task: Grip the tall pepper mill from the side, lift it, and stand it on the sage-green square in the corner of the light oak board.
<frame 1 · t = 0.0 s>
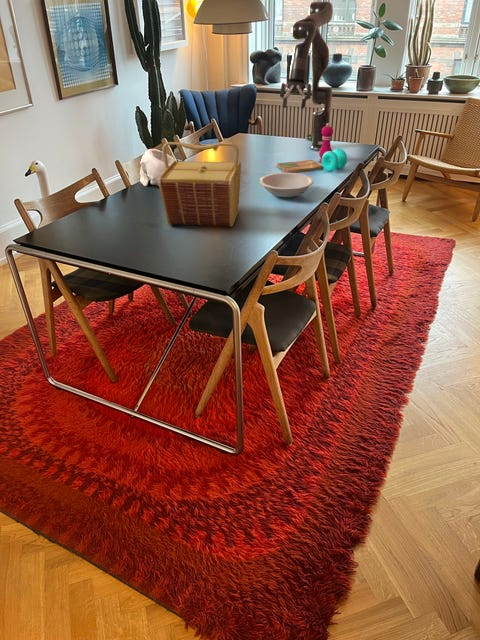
hand: (293, 108, 224), 31 cm above the table, tool tilted 20°, fingers open, 8 cm apart
pepper mill: (325, 162, 260), on the table
skull planter: (159, 185, 233), on the table
oak board: (299, 168, 252), on the table
soup bowl: (286, 195, 217), on the table
picnic basket: (204, 219, 194), on the table
turquoise spool: (333, 170, 247), on the table
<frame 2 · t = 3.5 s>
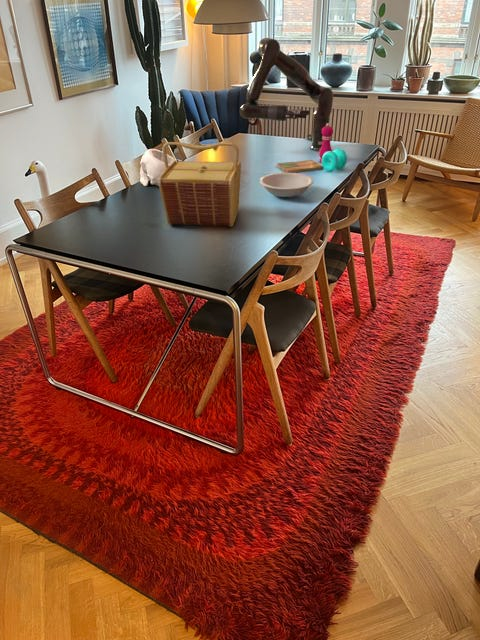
hand: (307, 114, 250), 24 cm above the table, tool horizontal, fingers open, 8 cm apart
nothing on the table moved.
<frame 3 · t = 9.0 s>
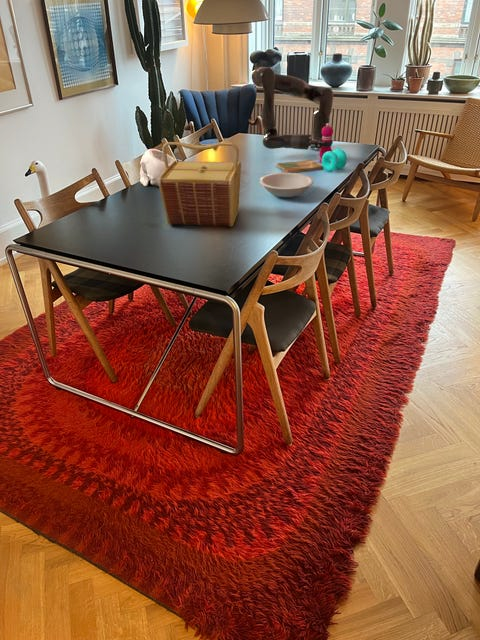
hand: (331, 143, 254), 10 cm above the table, tool horizontal, fingers closed on pepper mill, 4 cm apart
pepper mill: (325, 162, 260), on the table, touching gripper
everything else where it was.
when the fingers open (12 cm above the table, at t = 15.4 s): pepper mill stays where it is, resting on oak board.
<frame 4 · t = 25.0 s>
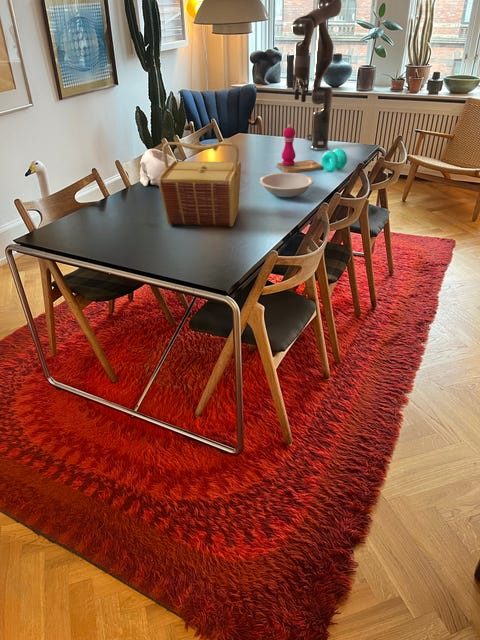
hand: (299, 100, 248), 30 cm above the table, tool pointing down, fingers open, 8 cm apart
pepper mill: (288, 164, 251), point 2 cm above the table, touching oak board
everything else where it was.
at the end: pepper mill 0.2 cm from the target spot, point 1.5 cm above the table; pepper mill tilted 0°; the gripper is holding nothing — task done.
